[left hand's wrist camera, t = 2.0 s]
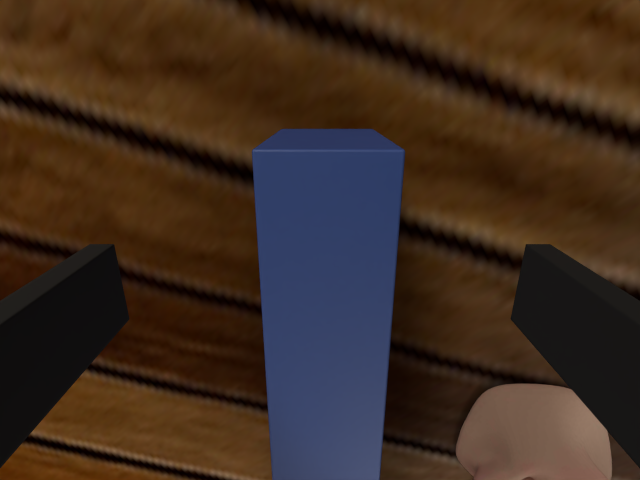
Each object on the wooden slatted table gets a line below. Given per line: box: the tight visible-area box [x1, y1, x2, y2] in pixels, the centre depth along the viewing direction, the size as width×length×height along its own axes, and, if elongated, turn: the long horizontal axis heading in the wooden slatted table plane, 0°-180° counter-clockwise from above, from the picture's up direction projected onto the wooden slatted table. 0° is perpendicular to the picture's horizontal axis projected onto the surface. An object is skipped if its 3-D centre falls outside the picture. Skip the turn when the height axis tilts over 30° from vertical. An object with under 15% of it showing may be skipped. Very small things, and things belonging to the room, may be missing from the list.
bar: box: [252, 129, 405, 480], centre depth 22 cm, size 28×5×9 cm, turn 0°
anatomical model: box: [456, 384, 612, 480], centre depth 27 cm, size 13×4×12 cm
